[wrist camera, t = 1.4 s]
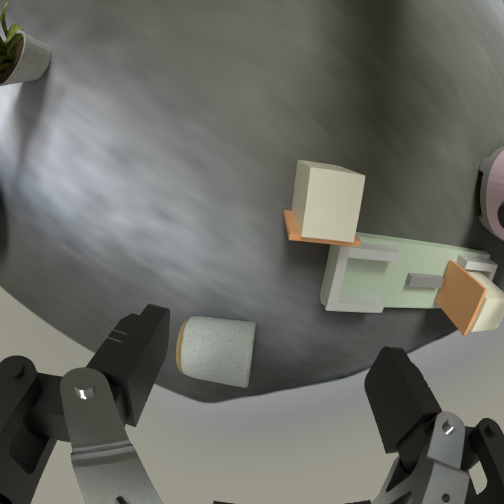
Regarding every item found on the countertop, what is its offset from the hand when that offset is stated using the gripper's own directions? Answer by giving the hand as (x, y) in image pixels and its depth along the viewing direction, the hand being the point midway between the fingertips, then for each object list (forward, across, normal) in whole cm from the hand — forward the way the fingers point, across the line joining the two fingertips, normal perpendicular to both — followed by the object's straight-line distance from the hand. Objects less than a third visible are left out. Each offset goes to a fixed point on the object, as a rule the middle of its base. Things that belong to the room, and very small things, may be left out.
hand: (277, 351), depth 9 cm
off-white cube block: (+19, -4, -4) cm, 20 cm away
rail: (+20, -18, +2) cm, 27 cm away
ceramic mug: (+20, +2, +16) cm, 26 cm away
